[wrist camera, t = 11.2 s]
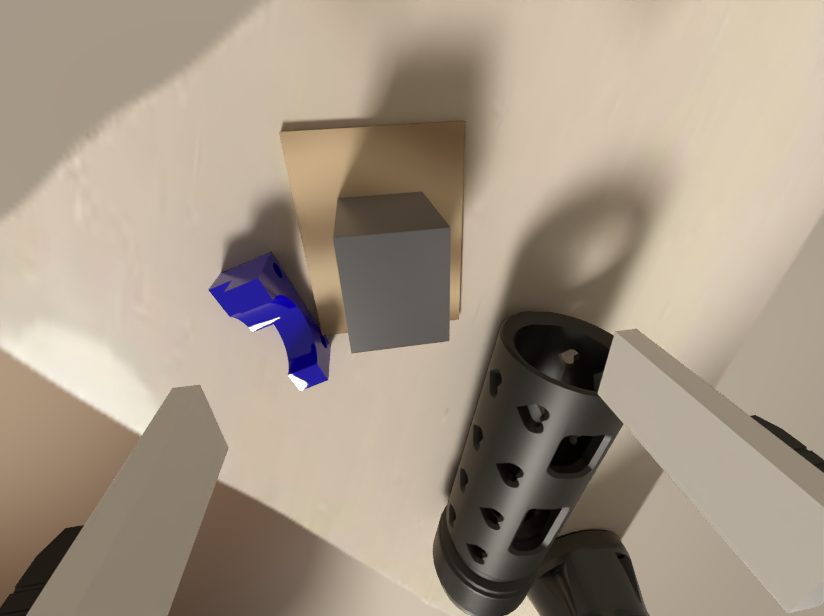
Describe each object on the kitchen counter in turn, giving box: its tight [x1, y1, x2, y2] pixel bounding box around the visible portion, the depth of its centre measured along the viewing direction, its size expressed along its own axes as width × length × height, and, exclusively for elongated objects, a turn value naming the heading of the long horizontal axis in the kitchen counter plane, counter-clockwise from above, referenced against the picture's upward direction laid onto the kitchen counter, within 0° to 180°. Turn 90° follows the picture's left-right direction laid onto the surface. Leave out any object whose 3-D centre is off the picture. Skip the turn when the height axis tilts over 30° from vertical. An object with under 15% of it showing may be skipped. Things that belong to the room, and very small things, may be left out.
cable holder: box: [209, 252, 331, 391], centre depth 23 cm, size 8×4×4 cm, turn 20°
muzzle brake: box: [433, 312, 623, 616], centre depth 30 cm, size 10×28×10 cm, turn 172°
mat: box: [279, 121, 465, 336], centre depth 23 cm, size 13×10×1 cm
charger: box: [333, 192, 451, 353], centre depth 20 cm, size 8×5×7 cm, turn 2°
